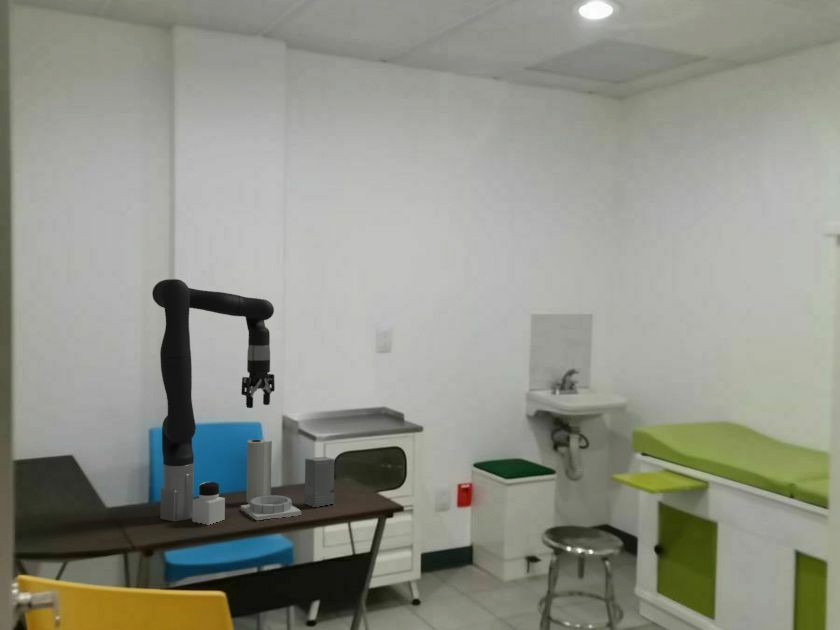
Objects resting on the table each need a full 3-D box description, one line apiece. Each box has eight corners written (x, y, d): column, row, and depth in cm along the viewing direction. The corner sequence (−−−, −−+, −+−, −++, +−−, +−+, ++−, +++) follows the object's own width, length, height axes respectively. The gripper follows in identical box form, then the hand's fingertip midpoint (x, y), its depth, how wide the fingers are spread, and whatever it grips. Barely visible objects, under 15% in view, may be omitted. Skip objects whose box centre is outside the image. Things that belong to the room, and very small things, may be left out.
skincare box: (314, 508, 276) (314, 461, 276) (302, 504, 282) (303, 457, 281) (335, 504, 281) (336, 458, 281) (323, 500, 287) (324, 454, 286)
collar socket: (256, 521, 260) (256, 508, 260) (240, 510, 273) (241, 497, 272) (301, 515, 267) (301, 503, 267) (283, 504, 280) (284, 492, 280)
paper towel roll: (242, 503, 280) (243, 441, 279) (254, 500, 286) (254, 438, 285) (259, 506, 277) (260, 443, 276) (270, 502, 282) (271, 440, 281)
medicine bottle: (225, 520, 260) (225, 482, 260) (208, 525, 254) (209, 486, 254) (208, 516, 264) (209, 479, 264) (191, 522, 258) (192, 483, 257)
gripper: (263, 356, 288) (263, 403, 288) (235, 359, 275) (235, 407, 276) (280, 357, 284) (280, 404, 285) (253, 360, 272) (252, 409, 272)
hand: (258, 406), depth 280 cm, fingers open, 8 cm apart
